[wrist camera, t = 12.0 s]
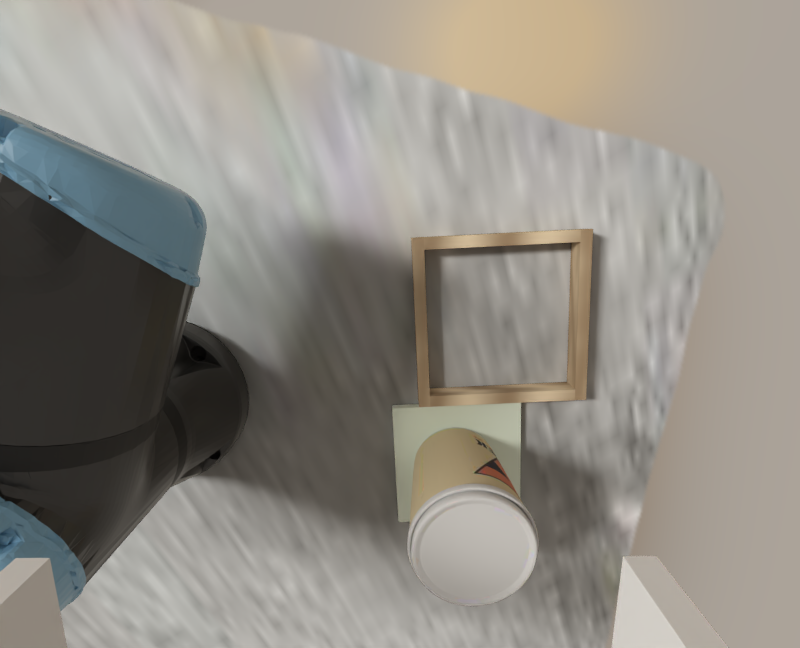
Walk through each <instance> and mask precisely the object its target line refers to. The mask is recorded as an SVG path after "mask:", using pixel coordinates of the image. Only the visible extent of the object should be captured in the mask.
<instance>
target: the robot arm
mask: <svg viewBox="0 0 800 648" xmlns="http://www.w3.org/2000/svg"><path fill="white" fill-rule="evenodd" d="M206 229H207V226H206V219H205V216H204V213H203V211H202V209H201V207H200V206H199V205H198V203H197V202H196V201H195V200H194V199H193V198H192V197H191V196H189V195H188V194H187V193H185V192H183V191H182V190H180V189H178V188H176V187H174V186H172V185H170V184H168V183H166V182H164V181H162V180H160V179H158V178H155V177H153V176H151V175H149V174H147V173H145V172H143V171H140V170H138V169H136V168H134V167H132V166H130V165H127V164H125V163H123V162H121V161H119V160H116V159H114V158H112V157H110V156H107V155H105V154H103V153H101V152H98V151H96V150H94V149H92V148H90V147H87V146H85V145H83V144H81V143H78V142H76V141H74V140H72V139H69V138H67V137H65V136H63V135H60V134H58V133H56V132H53V131H51V130H49V129H47V128H44V127H42V126H40V125H37V124H35V123H33V122H30V121H28V120H26V119H24V118H21V117H19V116H16V115H14V114H11V113H9V112H7V111H4V110H2V109H0V648H67V644H66V638H65V633H64V628H63V623H62V618H61V613H60V611H61V610H62V609H64V608H65V607H66V606H67V605H68V604H70V603H71V602H73V601H74V600H75V599H76V598H77V597H78V596H79V595H80V594H81V593H82V591H83V588H84V586H85V585H86V583H87V582H88V581H89V580H90V579H91V578H92V577H93V575H94V574H95V573H96V572H97V571H98V570H99V569H100V567H101V566H102V565H103V564H104V563H105V562H106V561H107V559H108V558H109V557H110V556H111V555H112V554H113V553H114V551H115V550H116V549H117V548H118V547H119V546H120V545H121V543H122V542H123V541H124V540H125V539H126V538H127V537H128V535H129V534H130V533H131V532H132V531H133V530H134V528H135V527H136V526H137V525H138V524H139V523H140V522H141V520H142V519H143V518H144V517H145V516H146V515H147V514H148V512H149V511H150V510H151V509H152V508H153V507H154V506H155V504H156V503H157V502H158V501H159V500H160V499H161V498H162V496H163V495H164V494H165V493H166V492H167V490H168V489H169V488H170V487H172V486H174V485H176V484H179V483H181V482H183V481H185V480H187V479H189V478H191V477H194V476H196V475H198V474H200V473H202V472H204V471H206V470H207V469H209V468H210V467H212V466H213V465H214V464H216V463H217V462H218V461H219V460H220V459H221V458H222V457H223V456H224V455H225V454H226V453H227V452H228V451H229V449H230V448H231V447H232V445H233V444H234V443H235V442H236V440H237V439H238V437H239V436H240V434H241V432H242V430H243V428H244V425H245V422H246V418H247V414H248V405H249V398H248V390H247V385H246V381H245V378H244V375H243V373H242V370H241V368H240V366H239V364H238V363H237V361H236V359H235V358H234V357H233V355H232V354H231V353H230V351H229V350H228V349H227V348H226V347H225V346H224V345H223V344H222V343H221V342H220V341H219V340H218V339H216V338H215V337H214V336H213V335H211V334H210V333H208V332H207V331H205V330H203V329H201V328H199V327H197V326H195V325H193V324H190V323H187V322H186V320H187V316H188V313H189V309H190V305H191V302H192V298H193V294H194V291H195V287H198V286H199V284H200V277H199V276H198V270H199V265H200V260H201V255H202V250H203V245H204V240H205V235H206ZM612 648H728V646H727V645H726V644H725V643H724V641H723V640H722V639H721V638H720V636H719V635H718V634H717V632H716V631H715V630H714V628H713V627H712V626H711V625H710V624H709V622H708V621H707V620H706V618H705V617H704V616H703V615H702V613H701V612H700V611H699V609H697V607H696V606H695V605H694V603H693V602H692V601H691V599H690V598H689V597H688V595H687V594H686V593H685V592H684V590H683V589H682V588H681V587H680V586H679V584H678V583H677V582H676V580H675V579H674V578H673V577H672V575H671V574H670V573H669V571H668V570H667V569H666V568H665V566H664V565H663V564H662V563H661V561H660V560H659V559H658V557H657V556H623V561H622V569H621V577H620V585H619V593H618V601H617V609H616V617H615V625H614V633H613V641H612Z"/></svg>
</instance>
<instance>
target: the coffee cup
mask: <svg viewBox="0 0 800 648" xmlns="http://www.w3.org/2000/svg"><path fill="white" fill-rule="evenodd" d="M538 549H539V537H538V531H537V527H536V524H535V522H534V520H533V518H532V516H531V514H530V512H529V511H528V510H527V508H526V507H525V506H524V504H523V503H522V501H521V499H520V497H519V496H518V494H517V492H516V490H515V488H514V487H513V485H512V483H511V481H510V479H509V478H508V476H507V474H506V473H505V471H504V469H503V467H502V466H501V464H500V462H499V460H498V459H497V457H496V455H495V453H494V452H493V450H492V449H491V447H490V445H489V444H488V443H487V442H486V440H485V439H484V438H483V437H481V436H480V435H479V434H477V433H475V432H474V431H471V430H469V429H465V428H459V427H452V428H446V429H442V430H439V431H437V432H435V433H433V434H431V435H430V436H429V437H428V438H426V440H425V441H424V442H423V443H422V444H421V446H420V447H419V449H418V451H417V453H416V457H415V461H414V470H413V484H412V497H411V511H410V528H409V532H408V538H407V551H408V557H409V560H410V564H411V566H412V568H413V570H414V572H415V574H416V575H417V577H418V578H419V579H420V581H421V582H422V583H423V585H424V586H425V587H426V588H427V589H428V590H429V591H430V592H432V593H433V594H434V595H436V596H437V597H439V598H441V599H443V600H445V601H448V602H450V603H454V604H458V605H462V606H482V605H488V604H492V603H495V602H498V601H501V600H503V599H505V598H507V597H508V596H510V595H512V594H513V593H515V592H516V591H517V590H518V589H519V588H520V587H522V586H523V584H524V583H525V582H526V581H527V579H528V578H529V577H530V575H531V573H532V571H533V569H534V566H535V563H536V560H537V555H538Z"/></svg>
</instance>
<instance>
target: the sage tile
mask: <svg viewBox="0 0 800 648" xmlns="http://www.w3.org/2000/svg"><path fill="white" fill-rule="evenodd" d="M392 417H393V434H394V452H395V469H396V487H397V504H398V522H410V511H411V497H412V484H413V470H414V461H415V457H416V453H417V451H418V449H419V447H420V446H421V444H422V443H423V442H424V441H425V440H426V438H428V437H429V436H430V435H431V434H433V433H435V432H437V431H439V430H442V429H446V428H452V427H459V428H465V429H469V430H471V431H474V432H475V433H477V434H479V435H480V436H481V437H483V438H484V439H485V440H486V442H487V443H488V444H489V445H490V447H491V449H492V450H493V452H494V453H495V455H496V457H497V459H498V460H499V462H500V464H501V466H502V467H503V469H504V471H505V473H506V474H507V476H508V478H509V479H510V481H511V483H512V485H513V487H514V488H515V490H516V492H517V494H518V496H519V497H520V468H521V403H502V404H480V405H459V406H437V407H419V404H406V405H392Z"/></svg>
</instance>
